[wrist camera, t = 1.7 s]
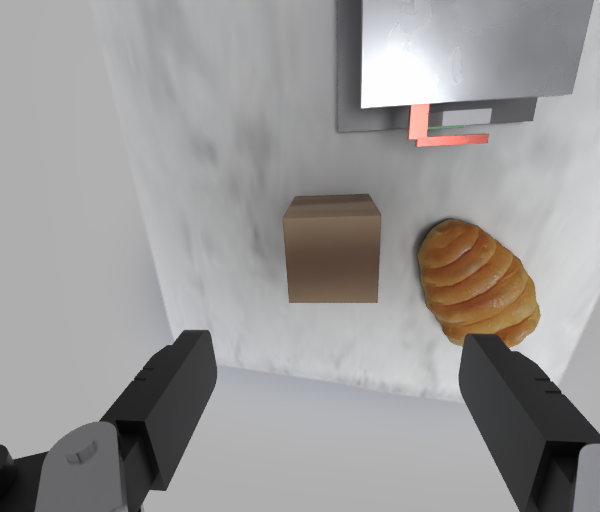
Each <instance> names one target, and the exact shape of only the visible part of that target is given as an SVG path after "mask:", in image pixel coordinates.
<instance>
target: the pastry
mask: <svg viewBox="0 0 600 512" xmlns="http://www.w3.org/2000/svg"><path fill="white" fill-rule="evenodd" d="M417 258H418V262H419V267H420V270H421V272H420V281H421V284H422V287H423V289H424V293H425V302H426V306H427V308H428V309H429V310H430V311H431V312H433V313H434V315H435V317H436V319H437V320H438V322H439V323H440V324H441V326H442V329H443V332H444V333H445V335H446V336H447V337H448V339H449V341H450V342H452V343H453V344H456V345H460V346H463V344H464V338H465V336H466V334H468V333H481V334H497V335H498V336H499V337H500V338H501V340H502V341H503V342H504V343H505V344H506V346H507V347H508V348H510V347H512V346H515V345H517V344H519V343H520V342H521V341H522V340H523V339H524V338H525V337H526V336H527V335H529V334H530V333H532V332H533V331H534V330H535V328H536V326H537V324H538V322H539V319H540V316H541V315H540V310H539V305H538V304H537V302H536V295H535V294H536V292H535V286H534V282H533V280H532V279H531V278H530V276H529V275H528V274H527V272H526V271H525V269H524V267H523V265H522V263H521V261H520V259H519V258H517V257H516V256H514V255H513V253H512V252H510V251H509V250H508V249H506V248H505V247H504V246H502V245H501V244H500V243H499V242H498V241H496V240H495V239H493V238H492V237H491V236H490V235H489V234H487V233H486V232H484V231H483V230H482V229H480V228H479V227H478V226H476V225H473V224H469V223H466V222H463V221H460V220H456V219H449V220H446V221H444V222H442V223H440V224H438V225H437V226H435V227H434V228H432V230H431V231H430V232H429V233H428V234H427V236H426V237H425V239H424V241H423V243H422V245H421V247H420V249H419V251H418V254H417Z"/></svg>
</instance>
